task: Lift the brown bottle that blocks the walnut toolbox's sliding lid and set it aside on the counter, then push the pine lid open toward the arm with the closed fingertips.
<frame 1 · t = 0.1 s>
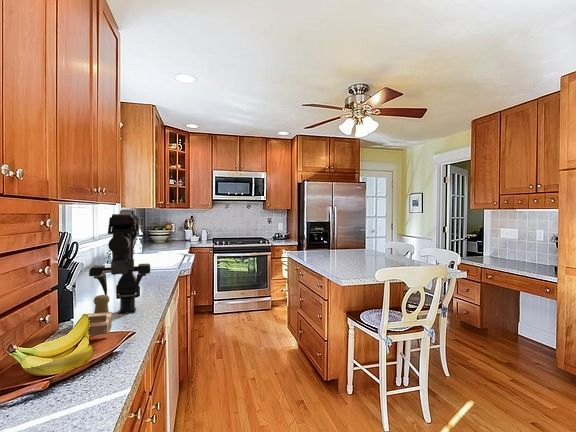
hand: (120, 294, 112), 15 cm above the counter, fingers open, 9 cm apart
toolbox: (96, 333, 113), on the counter
brown bottle: (101, 324, 123), on the counter
lid: (96, 316, 113), point 6 cm above the counter, slide at 0.0 cm
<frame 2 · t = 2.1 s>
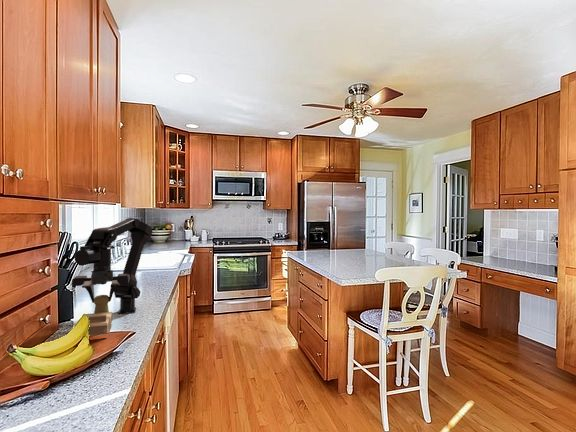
hand: (101, 301, 122), 9 cm above the counter, fingers closed on brown bottle, 5 cm apart
brown bottle: (101, 324, 123), on the counter, touching gripper
everything else where it was.
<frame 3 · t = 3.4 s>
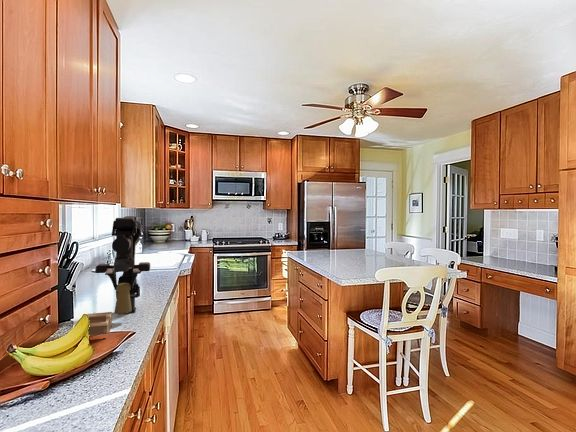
hand: (123, 289, 125), 13 cm above the counter, fingers closed on brown bottle, 5 cm apart
brown bottle: (123, 311, 125), point 4 cm above the counter, touching gripper
everything else where it was.
when the fingers open (9 cm above the counter, at t = 5.2 s): brown bottle stays where it is, on the counter.
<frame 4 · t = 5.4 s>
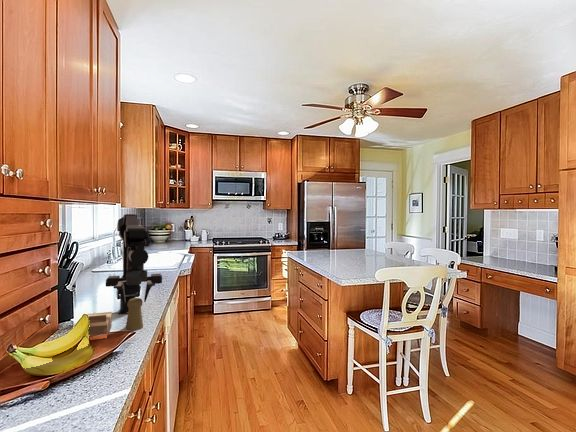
hand: (134, 302, 119), 9 cm above the counter, fingers open, 7 cm apart
brown bottle: (134, 328, 119), on the counter
everything else where it was.
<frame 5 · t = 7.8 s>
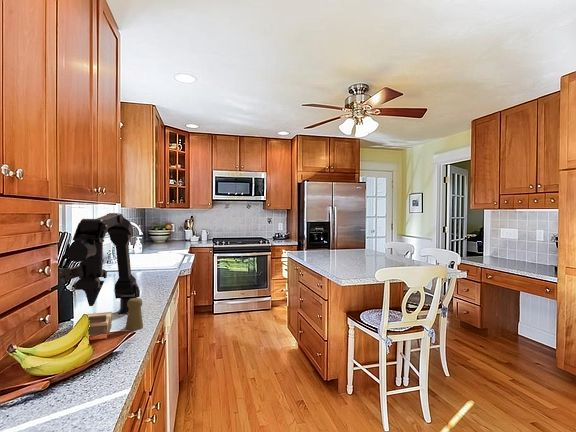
hand: (91, 305, 103), 13 cm above the counter, fingers closed
nothing on the counter moved.
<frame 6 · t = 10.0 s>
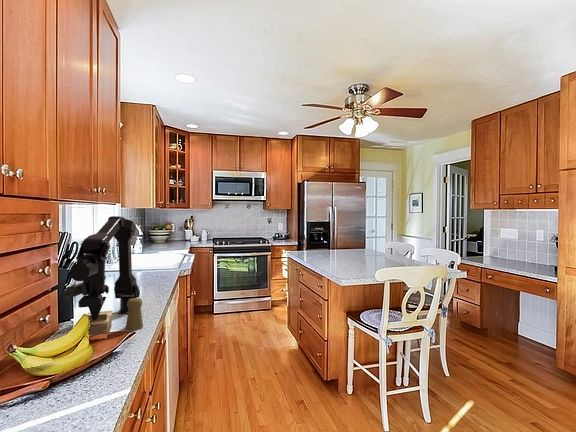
hand: (94, 320, 109), 6 cm above the counter, fingers closed
lid: (97, 315, 114), point 6 cm above the counter, slide at 1.4 cm, touching gripper
everything else where it was.
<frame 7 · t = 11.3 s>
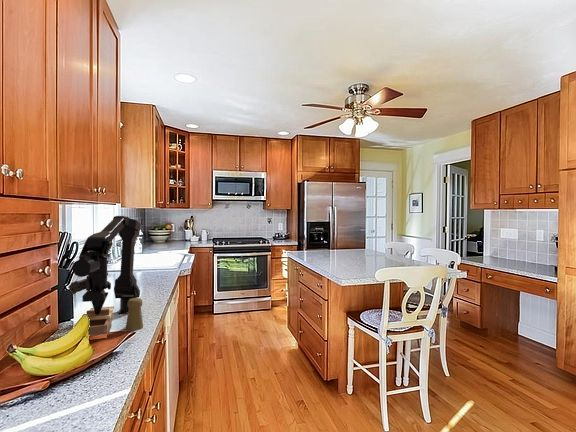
hand: (97, 314, 114), 6 cm above the counter, fingers closed
lid: (100, 310, 119), point 6 cm above the counter, slide at 7.3 cm, touching gripper
everything else where it was.
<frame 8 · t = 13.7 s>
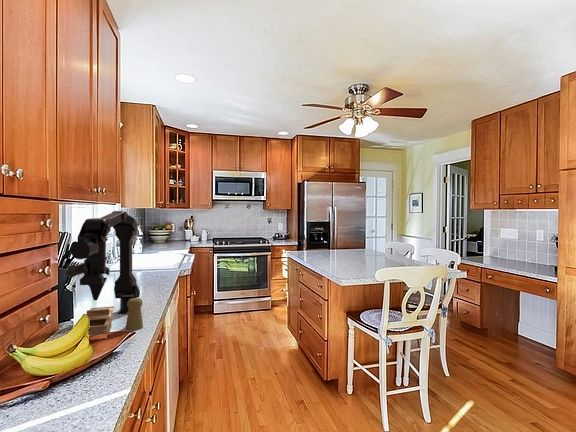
hand: (95, 300, 110), 13 cm above the counter, fingers closed
lid: (100, 310, 120), point 6 cm above the counter, slide at 7.4 cm
everything else where it was.
at the end: lid slide at 7.4 cm; brown bottle inside the target area (0.0 cm from its centre), on the counter; brown bottle tilted 0° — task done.
